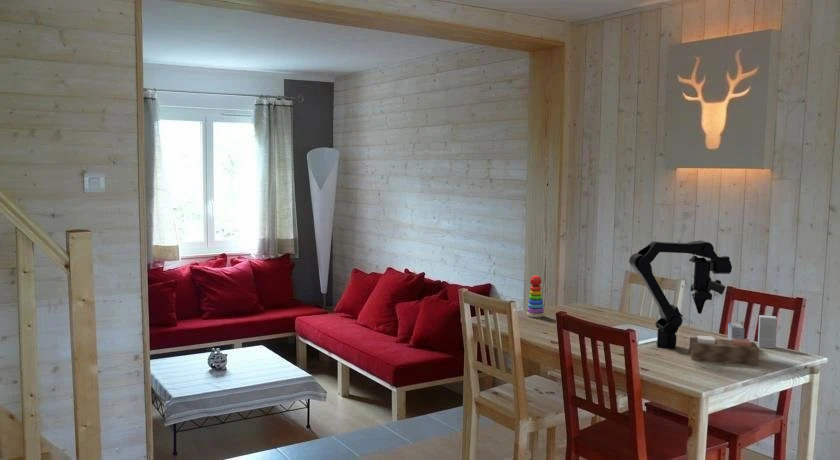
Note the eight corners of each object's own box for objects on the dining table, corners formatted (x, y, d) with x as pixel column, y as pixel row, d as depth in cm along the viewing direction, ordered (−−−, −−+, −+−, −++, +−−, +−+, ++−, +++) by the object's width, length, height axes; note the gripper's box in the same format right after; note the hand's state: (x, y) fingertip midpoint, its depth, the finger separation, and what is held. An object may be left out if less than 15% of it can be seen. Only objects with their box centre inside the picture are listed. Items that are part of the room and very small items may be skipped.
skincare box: (774, 346, 276) (776, 316, 275) (775, 348, 272) (777, 318, 271) (757, 344, 278) (758, 314, 277) (758, 347, 274) (760, 317, 273)
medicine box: (743, 350, 270) (745, 328, 269) (731, 349, 270) (732, 327, 270) (738, 345, 277) (740, 323, 276) (726, 344, 278) (727, 322, 277)
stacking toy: (543, 314, 326) (545, 274, 324) (545, 318, 318) (546, 277, 317) (526, 313, 327) (527, 273, 325) (527, 317, 319) (528, 276, 317)
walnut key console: (691, 359, 256) (692, 343, 255) (689, 352, 265) (690, 337, 265) (758, 365, 250) (759, 349, 249) (752, 357, 259) (753, 342, 259)
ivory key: (698, 349, 257) (699, 339, 256) (696, 345, 262) (697, 335, 262) (714, 351, 255) (715, 340, 255) (712, 347, 261) (713, 336, 260)
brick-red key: (734, 352, 254) (734, 341, 253) (731, 348, 259) (732, 338, 258) (750, 354, 252) (751, 343, 252) (747, 350, 257) (748, 339, 257)
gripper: (727, 278, 260) (725, 320, 262) (721, 271, 278) (719, 310, 280) (695, 277, 263) (693, 318, 265) (691, 269, 281) (689, 308, 283)
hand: (699, 313), depth 273 cm, fingers closed
